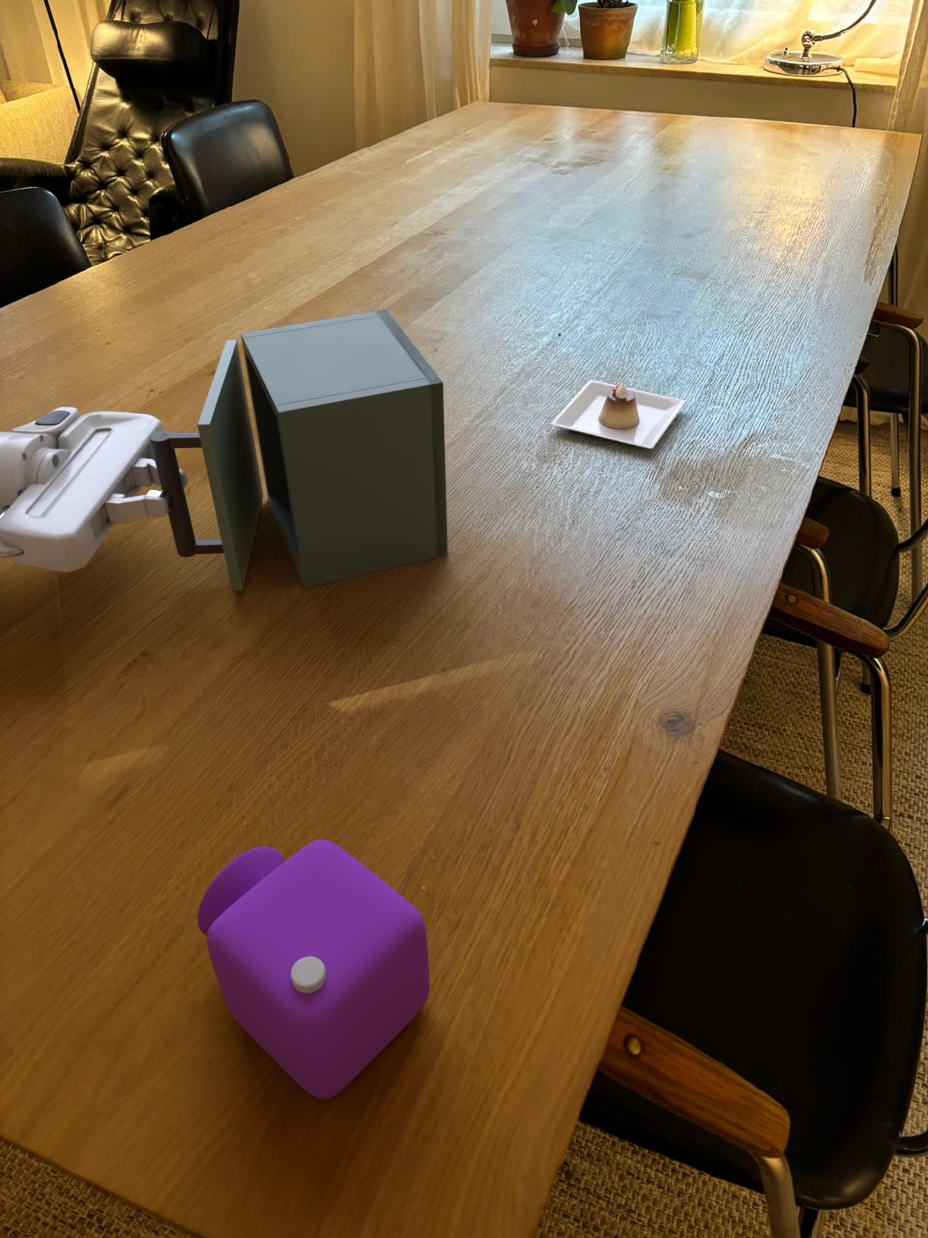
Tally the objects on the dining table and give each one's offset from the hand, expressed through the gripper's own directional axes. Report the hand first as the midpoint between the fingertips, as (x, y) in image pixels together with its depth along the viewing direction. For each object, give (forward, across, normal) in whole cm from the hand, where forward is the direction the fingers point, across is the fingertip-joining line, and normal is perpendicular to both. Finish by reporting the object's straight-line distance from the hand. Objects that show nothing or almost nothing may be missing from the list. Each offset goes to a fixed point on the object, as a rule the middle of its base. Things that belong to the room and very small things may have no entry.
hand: (176, 492), depth 86 cm
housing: (+13, +10, +10) cm, 19 cm away
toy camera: (+22, -39, +10) cm, 45 cm away
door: (+1, +5, +9) cm, 10 cm away
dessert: (+38, +34, +10) cm, 52 cm away
